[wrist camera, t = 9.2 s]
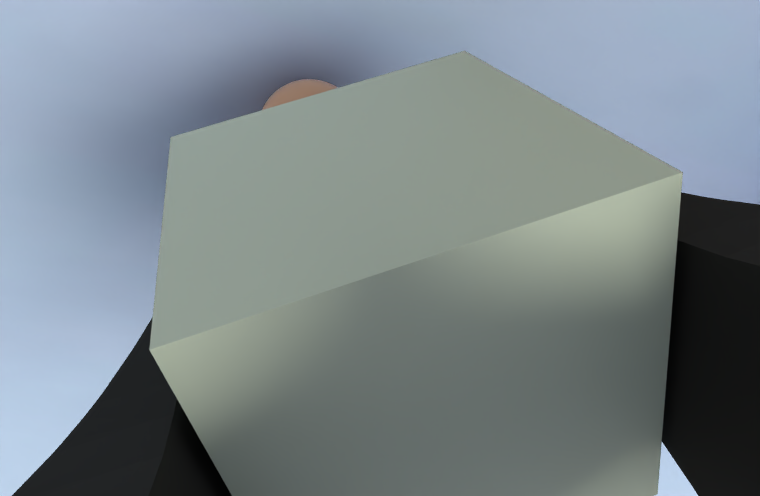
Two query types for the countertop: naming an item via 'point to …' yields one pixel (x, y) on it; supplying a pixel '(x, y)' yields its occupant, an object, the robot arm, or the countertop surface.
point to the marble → (297, 91)
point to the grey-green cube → (419, 292)
